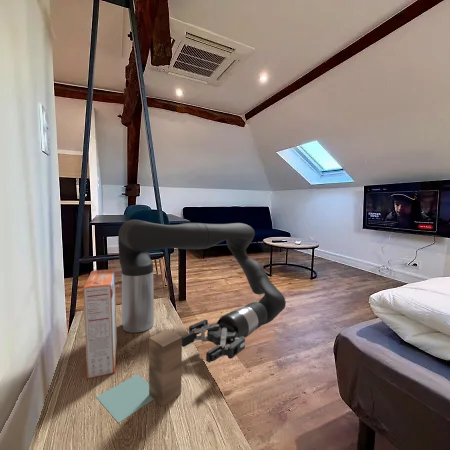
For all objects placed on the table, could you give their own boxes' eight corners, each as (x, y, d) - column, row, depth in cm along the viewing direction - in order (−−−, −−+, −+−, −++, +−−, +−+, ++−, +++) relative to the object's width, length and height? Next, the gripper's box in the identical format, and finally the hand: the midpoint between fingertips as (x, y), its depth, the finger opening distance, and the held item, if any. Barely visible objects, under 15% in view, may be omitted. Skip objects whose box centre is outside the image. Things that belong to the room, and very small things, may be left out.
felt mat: (96, 397, 50) (96, 396, 50) (137, 374, 57) (137, 374, 57) (118, 423, 44) (118, 422, 44) (161, 394, 51) (161, 393, 51)
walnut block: (149, 394, 51) (149, 337, 50) (167, 382, 54) (168, 329, 53) (162, 406, 48) (163, 346, 47) (181, 393, 52) (182, 337, 50)
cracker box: (93, 346, 68) (90, 269, 66) (117, 342, 70) (115, 268, 68) (84, 380, 55) (81, 286, 53) (115, 374, 57) (112, 283, 55)
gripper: (260, 347, 65) (216, 380, 53) (218, 328, 74) (173, 352, 62) (261, 319, 64) (217, 346, 52) (219, 303, 73) (173, 323, 61)
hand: (193, 350), depth 57 cm, fingers open, 8 cm apart
